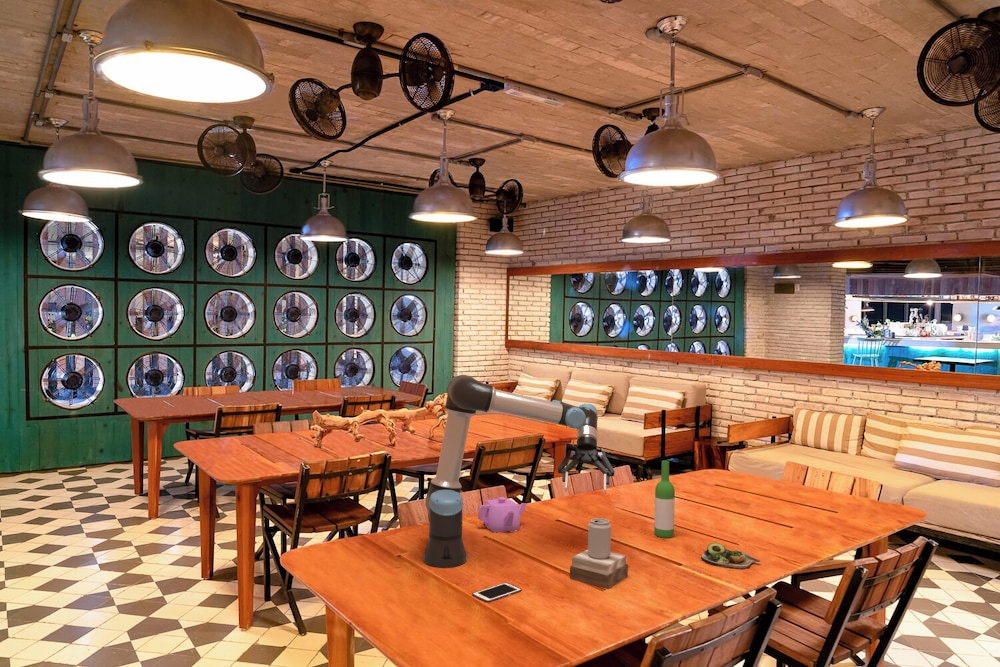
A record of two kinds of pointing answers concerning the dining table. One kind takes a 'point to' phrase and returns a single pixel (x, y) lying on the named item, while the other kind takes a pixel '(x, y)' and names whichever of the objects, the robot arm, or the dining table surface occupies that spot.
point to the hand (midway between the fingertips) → (585, 490)
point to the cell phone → (496, 592)
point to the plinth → (595, 576)
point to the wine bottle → (664, 504)
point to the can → (599, 538)
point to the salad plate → (726, 557)
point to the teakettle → (501, 514)
